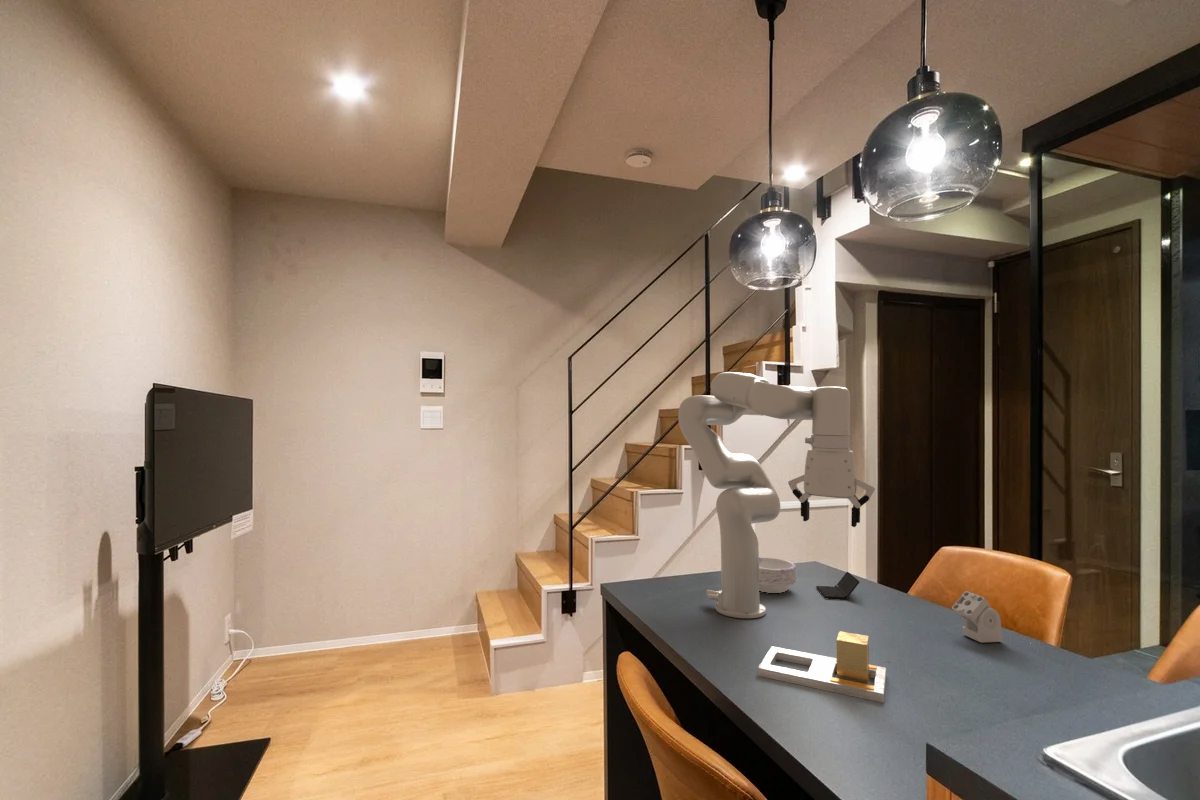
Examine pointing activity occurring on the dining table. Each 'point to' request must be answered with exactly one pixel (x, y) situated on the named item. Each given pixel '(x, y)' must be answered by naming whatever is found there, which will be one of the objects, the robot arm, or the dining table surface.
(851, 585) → the handheld gaming console
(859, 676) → the brass block
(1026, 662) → the dining table surface
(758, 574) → the robot arm
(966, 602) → the mechanical component
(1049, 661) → the dining table surface
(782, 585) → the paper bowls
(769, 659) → the white flat frame
